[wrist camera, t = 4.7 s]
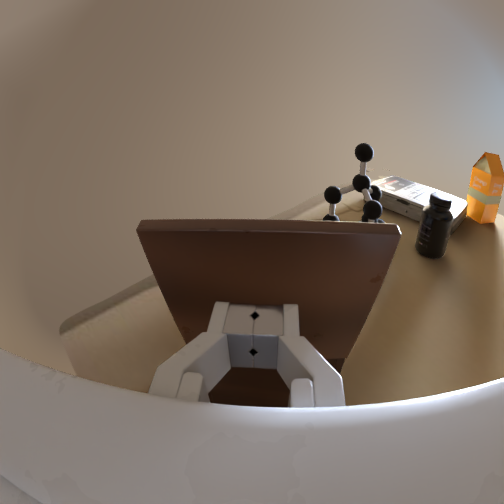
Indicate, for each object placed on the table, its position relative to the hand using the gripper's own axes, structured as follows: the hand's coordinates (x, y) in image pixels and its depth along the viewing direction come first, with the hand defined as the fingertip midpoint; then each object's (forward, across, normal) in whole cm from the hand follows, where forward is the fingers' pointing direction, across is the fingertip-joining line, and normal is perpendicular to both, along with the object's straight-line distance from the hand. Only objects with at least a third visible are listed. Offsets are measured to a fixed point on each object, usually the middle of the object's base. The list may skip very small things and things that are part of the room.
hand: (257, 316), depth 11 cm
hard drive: (+63, +40, -20) cm, 77 cm away
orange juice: (+60, +62, -20) cm, 89 cm away
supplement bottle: (+40, +32, -20) cm, 55 cm away
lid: (+5, 0, -4) cm, 6 cm away
